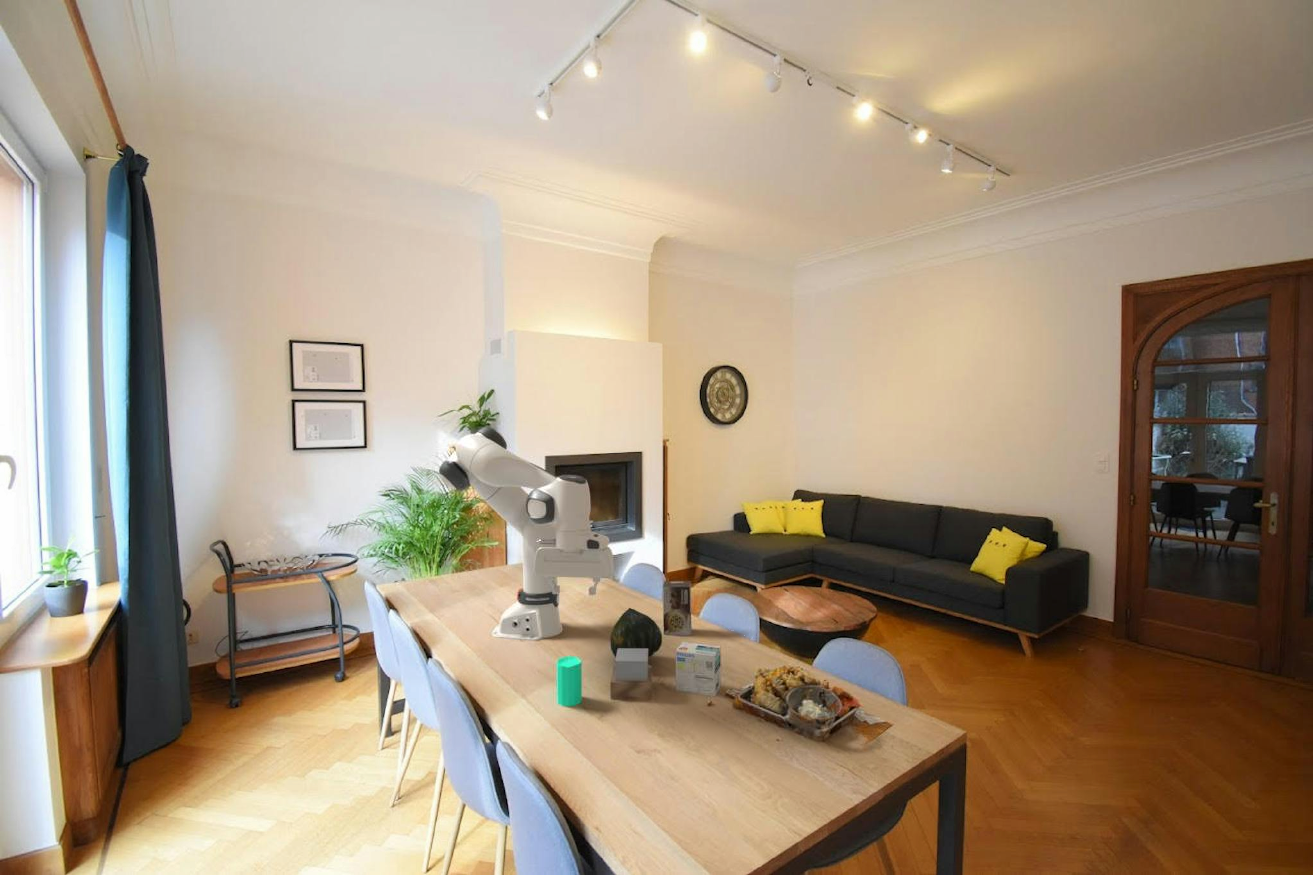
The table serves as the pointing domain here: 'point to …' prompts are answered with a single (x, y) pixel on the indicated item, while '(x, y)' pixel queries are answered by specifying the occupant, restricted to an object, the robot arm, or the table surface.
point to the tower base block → (631, 688)
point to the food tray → (804, 704)
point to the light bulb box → (698, 668)
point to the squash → (635, 633)
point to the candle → (569, 681)
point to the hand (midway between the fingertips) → (574, 594)
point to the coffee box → (677, 608)
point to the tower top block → (631, 664)
